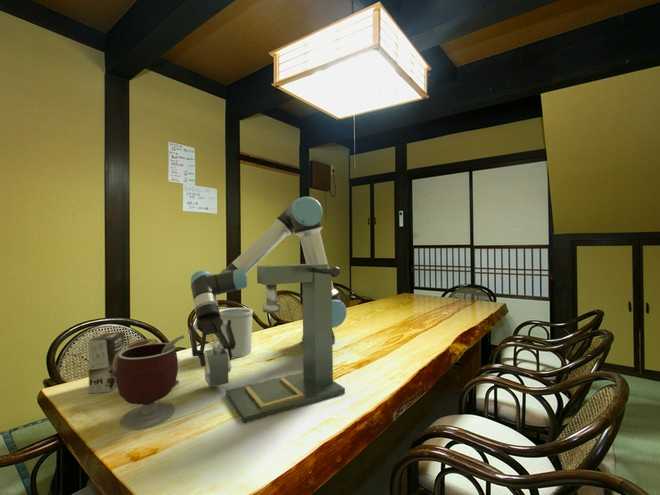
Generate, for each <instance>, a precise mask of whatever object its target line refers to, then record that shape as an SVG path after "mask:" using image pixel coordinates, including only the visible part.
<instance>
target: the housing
mask: <svg viewBox="0 0 660 495" xmlns="http://www.w3.org/2000/svg"><path fill="white" fill-rule="evenodd" d="M204 353H207V357H208V363H209V368H210V375H209V377H206V372H205V371H204V380H205V382H206V383H207V385H208V387H209V388H212V387H216V386H221V385H226V384H229V372H228V353H227V352H226V351H225V350H224V349H223V348H219V343H218V342H217V341H213V343H212V349H209V350H208V349H207V350H204Z"/></svg>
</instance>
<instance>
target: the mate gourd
mask: <svg viewBox="0 0 660 495" xmlns="http://www.w3.org/2000/svg"><path fill="white" fill-rule="evenodd" d="M184 338H185V335H184V334H182V335H180V336H178V337H176V338H174V339H172V340H170V341H169V342H158V343H152V344H145V345H139V346H135V347H131V348H128V349H126V350H123V351H122V352H120V353H119V358H118V362H117V368H116V383H117V387H116V388H117V391H118V394H119V396H120V397H121V398H122V399H123V400H124V401H125V402H126V403H127V404H131V405H139V406H137V407H135V408H133V409H131V410H129V411H126V413H124V414H123V415H122V417H121V418H120V426H121V427H122V428H124V429H126V430H134V431H135V430H143V429H148V428H152V427H156V426H158V425H161V424H162V423H164V422H166V421H168V420H169V419H171V418H172V417H173V416H174V414H175V412H176V408H175V405H173V403H170V402H165V401H162V402H157V401H160V400H162V399H164V398H165V397H167V396H168V395H169V394H170V393H171V391H172V390H173V388H174V387H175V386H174V385H175V383H176V380H177V378H178V371H179V359H178V355H177V354H178V352H177V350H176V345H175V344H177V343H178V342H179V341H180V340H182V339H184Z"/></svg>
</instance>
